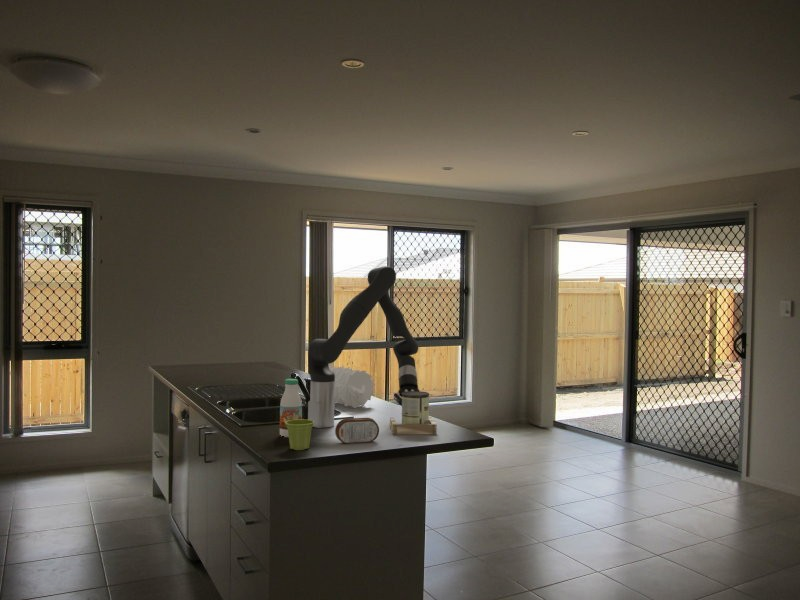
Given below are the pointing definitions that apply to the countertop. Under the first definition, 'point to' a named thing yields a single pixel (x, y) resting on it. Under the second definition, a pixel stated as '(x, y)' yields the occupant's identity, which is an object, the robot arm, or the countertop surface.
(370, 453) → the countertop surface
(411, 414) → the coffee can
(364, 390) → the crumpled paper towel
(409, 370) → the robot arm
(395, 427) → the wooden tray
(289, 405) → the milk bottle
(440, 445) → the countertop surface
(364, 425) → the tin
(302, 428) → the plant pot
